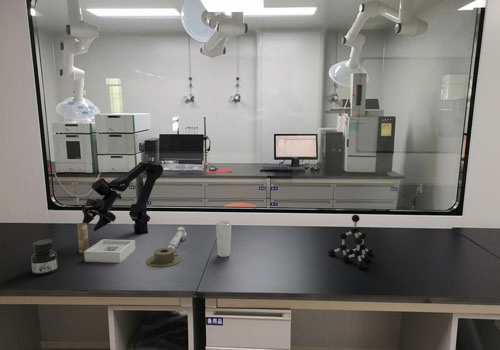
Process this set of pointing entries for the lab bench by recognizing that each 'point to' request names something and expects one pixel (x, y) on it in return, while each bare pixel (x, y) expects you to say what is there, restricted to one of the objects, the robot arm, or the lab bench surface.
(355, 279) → the lab bench surface
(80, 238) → the peg
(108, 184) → the robot arm
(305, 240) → the lab bench surface
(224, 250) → the drinking glass
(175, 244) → the light grey piece
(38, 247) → the ink bottle
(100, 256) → the box
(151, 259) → the flange
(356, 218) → the molecular model
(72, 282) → the lab bench surface
